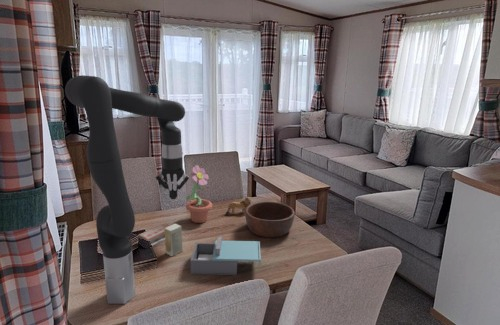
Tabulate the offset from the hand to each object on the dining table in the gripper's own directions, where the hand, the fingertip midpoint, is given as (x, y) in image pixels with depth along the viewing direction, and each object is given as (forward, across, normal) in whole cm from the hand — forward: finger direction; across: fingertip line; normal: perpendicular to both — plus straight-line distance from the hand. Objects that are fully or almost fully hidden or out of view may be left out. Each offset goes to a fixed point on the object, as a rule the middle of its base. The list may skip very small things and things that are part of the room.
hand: (173, 198), depth 131 cm
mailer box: (+29, +16, +1) cm, 33 cm away
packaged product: (+30, -15, +22) cm, 40 cm away
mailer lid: (+24, +25, +1) cm, 35 cm away
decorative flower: (+29, +3, +43) cm, 52 cm away
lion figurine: (+29, +24, +55) cm, 67 cm away
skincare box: (+29, -3, +10) cm, 31 cm away
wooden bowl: (+29, +40, +35) cm, 61 cm away
